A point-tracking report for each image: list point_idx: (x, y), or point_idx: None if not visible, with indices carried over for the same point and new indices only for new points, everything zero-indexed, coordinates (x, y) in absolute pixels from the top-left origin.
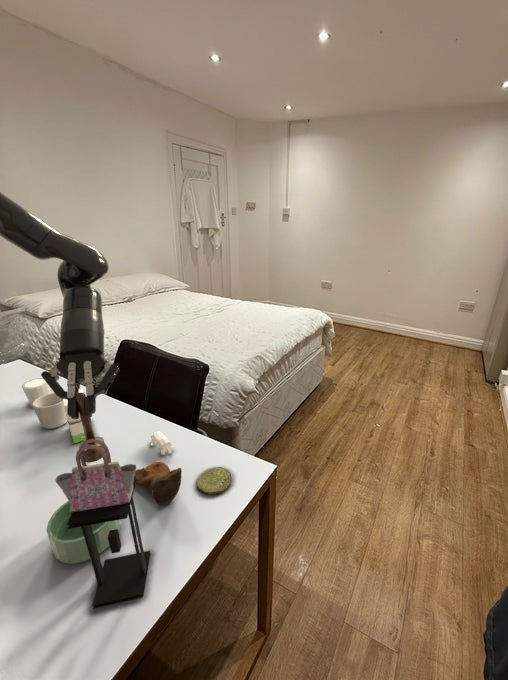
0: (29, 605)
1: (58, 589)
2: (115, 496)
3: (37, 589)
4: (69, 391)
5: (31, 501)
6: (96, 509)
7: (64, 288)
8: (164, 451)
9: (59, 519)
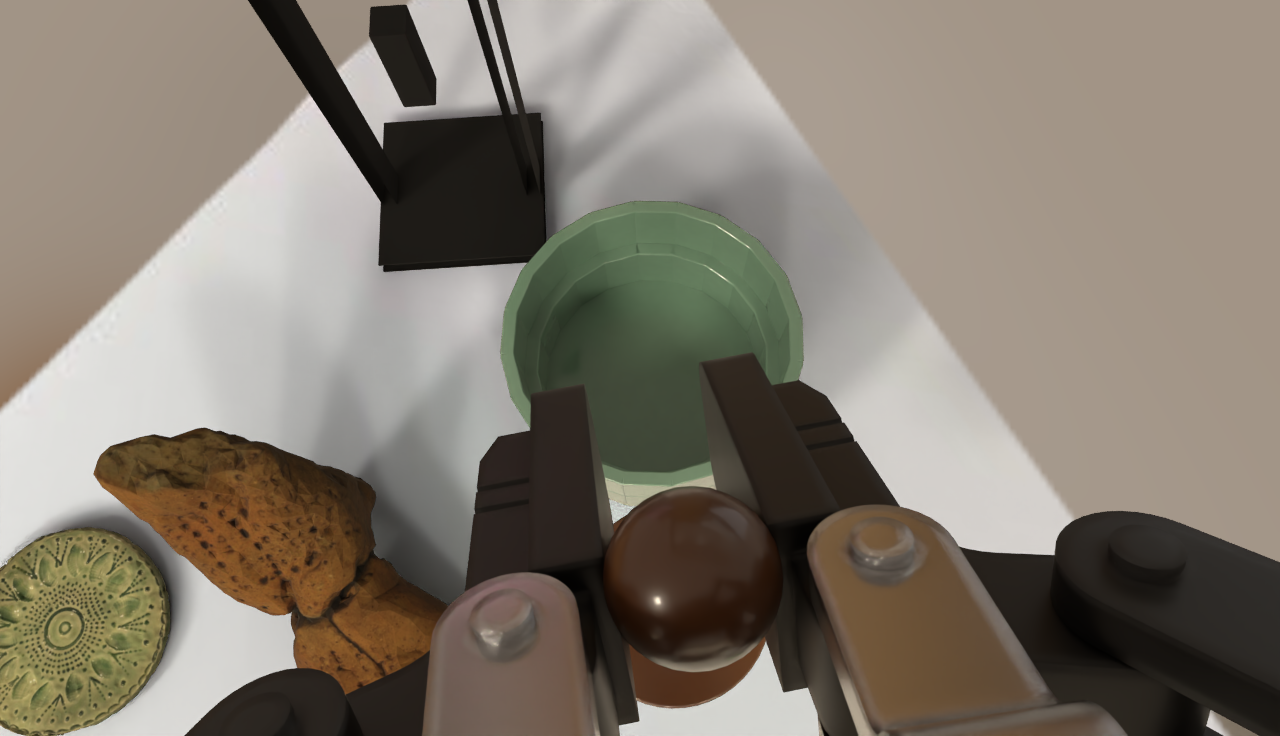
0: (750, 159)
1: (680, 194)
2: None
3: (752, 204)
4: (948, 612)
5: None
6: None
7: None
8: None
9: (779, 381)
